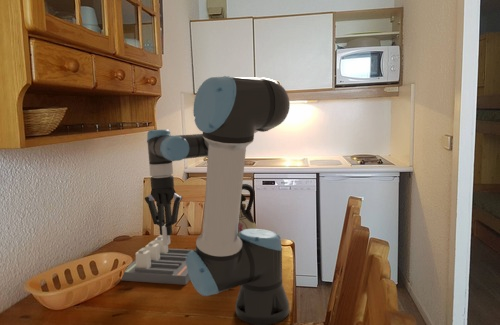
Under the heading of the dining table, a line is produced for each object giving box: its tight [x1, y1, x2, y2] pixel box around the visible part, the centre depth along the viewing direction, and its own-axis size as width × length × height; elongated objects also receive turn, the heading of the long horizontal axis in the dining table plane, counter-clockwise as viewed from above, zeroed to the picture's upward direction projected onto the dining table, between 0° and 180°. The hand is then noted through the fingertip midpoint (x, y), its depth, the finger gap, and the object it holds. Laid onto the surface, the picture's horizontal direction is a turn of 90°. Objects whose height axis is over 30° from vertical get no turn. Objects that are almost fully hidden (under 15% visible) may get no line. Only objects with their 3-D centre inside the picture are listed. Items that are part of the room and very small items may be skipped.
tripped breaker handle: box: [135, 247, 151, 268], centre depth 128 cm, size 3×4×7 cm
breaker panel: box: [121, 248, 192, 286], centre depth 135 cm, size 22×24×4 cm
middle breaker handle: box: [144, 240, 160, 260], centre depth 135 cm, size 3×4×7 cm
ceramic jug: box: [237, 183, 259, 236], centre depth 139 cm, size 17×15×30 cm
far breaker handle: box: [153, 234, 169, 253], centre depth 142 cm, size 3×4×7 cm
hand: (166, 244), depth 125 cm, fingers closed
